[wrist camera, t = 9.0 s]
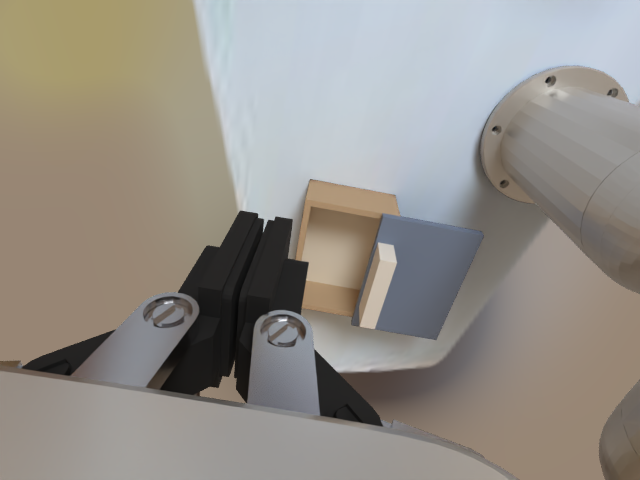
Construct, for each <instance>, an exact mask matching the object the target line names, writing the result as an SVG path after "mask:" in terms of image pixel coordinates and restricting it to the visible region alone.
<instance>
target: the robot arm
mask: <svg viewBox="0 0 640 480" xmlns="http://www.w3.org/2000/svg"><path fill="white" fill-rule="evenodd" d="M548 77H549V80H548V81H547V82H546V83H545V81H546V79H547V78H548ZM608 92H609V93H608ZM607 93H608V94H607ZM495 126H496V129H495V130H492V129H493V127H495ZM480 156H481V162H482V166H483V169H484V171H485V174H486V176H487V177H488V179H489V180H490V182H491V183H492V184H493V185H494V187H495V188H496V189H497V190H498V191H500V192H501V193H503V194H504V195H505V196H507V197H509V198H511V199H514V200H516V201H519V202H524V203H530V204H536V205H537V206H538V207H539V208H540V209H541V210H542V211H543V212H544V213H545V214H546V215H547V216H548V217H549V218H550V219H551V220H552V221H553V222H554V223H555V224H556V225H557V226H558V227H559V228H560V229H561V230H562V231H563V232H564V233H565V234H566V235H567V236H568V237H569V238H570V239H571V240H572V241H573V242H574V243H575V244H576V246H578V248H580V250H582V252H583V253H584V254H585V255H586V256H587V257H588V258H590V259H591V260H592V261H593V263H595V264H596V265H597V266H598V267H599V268H600V269H601V270H602V271H603V272H604V273H605V274H606V275H607V276H608V277H610V278H611V279H612V280H613V281H615V282H616V283H618V284H619V285H621V286H623V287H625V288H627V289H629V290H631V291H634V292H636V293H638V294H640V106H638V105H635V104H632V103H629V100H628V97H627V95H626V93H625V91H624V89H623V88H622V87H621V86H620V85H619V83H618V82H617V81H616V80H615V79H614V78H612V77H611V76H609V75H607V74H606V73H604V72H602V71H599V70H596V69H592V68H588V67H583V66H561V67H556V68H552V69H548V70H545V71H543V72H540V73H537V74H535V75H533V76H531V77H530V78H528V79H526V80H524V81H523V82H521V83H520V84H518V85H517V86H516V87H515V88H514V89H512V90H511V91H510V92H509V93H508V94H507V95H506V96H505V97H504V98H503V99H502V100H501V101H500V102H499V104H498V105H497V106H496V108H495V109H494V111H493V112H492V114H491V115H490V117H489V119H488V121H487V124H486V126H485V128H484V131H483V135H482V140H481V150H480ZM502 180H503V182H501V181H502ZM500 182H501V183H500ZM292 222H293V219H287V218H281V217H275V220H274V221H273V220H268V222H267V225H266V227H265V230H264V232H263V225H264V219H261V218H258V213H252V212H246V211H240V212H239V213H238V215H237V217H236V219H235V221H234V223H233V224H232V226H231V228H230V230H229V232H228V233H227V235H226V237H225V239H224V241H223V242H222V244H221V246H220V247H214V246H206V248H205V249H204V251H203V252H202V254H201V256H200V257H199V259H198V260H197V262H196V264H195V265H194V267H193V268H192V270H191V272H190V273H189V275H188V277H187V278H186V280H185V281H184V283H183V285H182V286H181V288H180V290H179V291H178V293H176V292H173V293H162V294H158V295H155V296H153V297H151V298H148V299H147V300H146V301H144V302H143V303H142V304H141V305H140V306H139V307H138V308H137V309H136V310H135V311H134V312H133V313H132V314H131V315H130V316H129V317H128V318H127V319H126V320H125V321H124V322H123V323H122V324H121V325H120V326H119V327H118V328H117V329H116V330H113V331H110V332H107V333H105V334H102V335H99V336H96V337H93V338H91V339H88V340H85V341H82V342H80V343H77V344H74V345H71V346H68V347H65V348H63V349H60V350H57V351H54V352H52V353H49V354H46V355H43V356H41V357H39V358H37V359H34V360H32V361H30V362H29V363H28V364H26V365H24V366H22V363H21V361H0V480H519V479H518V478H516V477H515V476H514V475H512V474H511V473H509V472H508V471H506V470H504V469H503V468H501V467H500V466H498V465H496V464H494V463H492V462H490V461H488V460H487V459H485V458H484V457H483V456H482V455H481V454H479V453H477V452H476V451H474V450H472V449H470V448H468V447H465V446H462V445H460V444H457V443H454V442H452V441H449V440H447V439H444V438H441V437H438V436H436V435H433V434H430V433H428V432H425V431H423V430H420V429H417V428H415V427H412V426H410V425H407V424H404V423H402V422H399V421H396V420H393V421H392V424H390V423H388V422H386V421H383V420H380V417H379V415H378V414H377V413H376V412H375V410H374V409H373V408H372V407H371V406H370V405H369V404H368V403H367V402H366V401H365V400H364V399H363V398H362V397H361V396H360V395H359V394H358V393H357V392H356V391H355V390H354V389H353V388H352V387H351V386H350V385H349V384H348V383H347V382H346V381H345V380H344V379H343V378H342V377H341V376H340V375H339V374H338V373H337V372H336V371H335V370H334V369H333V367H332V366H331V365H330V364H329V363H328V362H327V361H326V360H325V359H324V358H323V357H322V356H321V355H320V354H319V353H318V352H317V351H316V350H315V349H314V343H313V332H312V328H311V325H310V324H309V322H308V321H307V320H306V319H305V318H304V317H302V316H301V309H302V303H303V297H304V290H305V284H306V278H307V272H308V266H309V262H305V261H299V260H293V259H288V252H289V245H290V237H291V230H292ZM234 361H235V372H234V378H237V382H236V390H237V391H238V392H239V394H240V395H241V396H242V398H243V399H244V401H245V402H246V403H247V404H245V403H239V402H232V401H226V400H220V399H214V398H207V397H201V396H200V391H202V390H204V389H206V388H208V387H216V388H218V387H219V384H220V382H221V379H222V376H226V377H229V375H230V373H231V370H232V367H233V364H234ZM599 459H600V464H601V468H602V472H603V475H604V477H605V480H640V380H639V381H638V382H637V383H636V384H635V385H634V387H633V388H632V389H631V390H630V391H629V392H628V393H627V394H626V396H625V397H624V399H623V400H622V401H621V402H620V404H619V405H618V406H617V407H616V408H615V410H614V411H613V413H612V414H611V415H610V417H609V418H608V420H607V422H606V424H605V426H604V428H603V431H602V434H601V438H600V442H599Z"/></svg>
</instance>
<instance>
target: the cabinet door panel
mask: <svg viewBox="0 0 640 480" xmlns="http://www.w3.org/2000/svg"><path fill="white" fill-rule="evenodd" d="M483 237H484V235H483V233H482V232H481V231H477V230H471V229H466V228H461V227H455V226H450V225H444V224H439V223H434V222H428V221H423V220H418V219H412V218H407V217H402V216H396V215H391V214H385V213H382V216H381V220H380V223H379V227H378V230H377V234H376V237H375V241H374V244H373V248H372V251H371V254H370V258H369V261H368V265H367V268H366V272H365V275H364V279H363V282H362V286H361V289H360V292H359V296H358V299H357V303H356V306H355V310H354V313H353V317H352V325H354V326H360V327H364V328H370V329H377V330H382V331H388V332H394V333H399V334H405V335H411V336H416V337H422V338H428V339H433V340H436V339H437V337H438V335H439V333H440V330H441V328H442V326H443V324H444V322H445V320H446V317H447V315H448V313H449V311H450V309H451V306H452V304H453V302H454V300H455V298H456V296H457V293H458V291H459V289H460V287H461V285H462V282H463V280H464V278H465V276H466V274H467V272H468V269H469V267H470V265H471V263H472V261H473V258H474V256H475V254H476V252H477V250H478V248H479V245H480V243H481V241H482V239H483Z"/></svg>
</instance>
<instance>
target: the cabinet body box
mask: <svg viewBox="0 0 640 480" xmlns="http://www.w3.org/2000/svg"><path fill="white" fill-rule="evenodd" d="M382 213H385V214H391V215H396V216H400V213H399V209H398V205H397V201H396V197H395V195H392V194H386V193H381V192H376V191H370V190H365V189H360V188H354V187H349V186H344V185H338V184H333V183H328V182H323V181H317V180H312V179H310V182H309V187H308V191H307V195H306V200H305V206H304V212H303V217H302V223H301V229H300V235H299V241H298V247H297V253H296V259H295V260H299V261H305V262H309V266H308V272H307V278H306V284H305V290H304V297H303V303H302V308H305V309H310V310H316V311H322V312H327V313H333V314H339V315H344V316H350V317H353V313H354V310H355V306H356V303H357V299H358V296H359V292H360V289H361V286H362V282H363V279H364V275H365V272H366V268H367V265H368V261H369V258H370V254H371V251H372V248H373V244H374V241H375V237H376V234H377V230H378V227H379V223H380V220H381V216H382Z"/></svg>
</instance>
